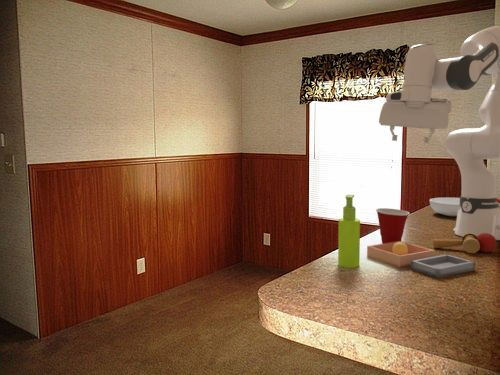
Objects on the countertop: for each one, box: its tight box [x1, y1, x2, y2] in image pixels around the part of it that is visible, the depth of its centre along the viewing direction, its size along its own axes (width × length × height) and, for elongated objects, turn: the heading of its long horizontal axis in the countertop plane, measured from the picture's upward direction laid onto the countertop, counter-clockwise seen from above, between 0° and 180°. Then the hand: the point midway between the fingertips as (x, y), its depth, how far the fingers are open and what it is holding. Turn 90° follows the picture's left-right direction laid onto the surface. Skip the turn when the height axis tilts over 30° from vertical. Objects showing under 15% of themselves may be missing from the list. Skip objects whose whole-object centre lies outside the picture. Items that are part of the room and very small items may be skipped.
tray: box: [410, 253, 476, 279], centre depth 117 cm, size 14×9×2 cm, turn 116°
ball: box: [392, 241, 408, 255], centre depth 128 cm, size 4×4×4 cm
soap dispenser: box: [337, 194, 361, 269], centre depth 122 cm, size 6×7×20 cm
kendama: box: [432, 233, 497, 254], centre depth 137 cm, size 8×6×18 cm
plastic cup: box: [375, 207, 411, 244], centre depth 144 cm, size 11×11×12 cm
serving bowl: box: [429, 197, 461, 218], centre depth 199 cm, size 21×21×7 cm
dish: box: [366, 240, 436, 268], centre depth 128 cm, size 13×13×3 cm
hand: (410, 142), depth 134 cm, fingers open, 8 cm apart
